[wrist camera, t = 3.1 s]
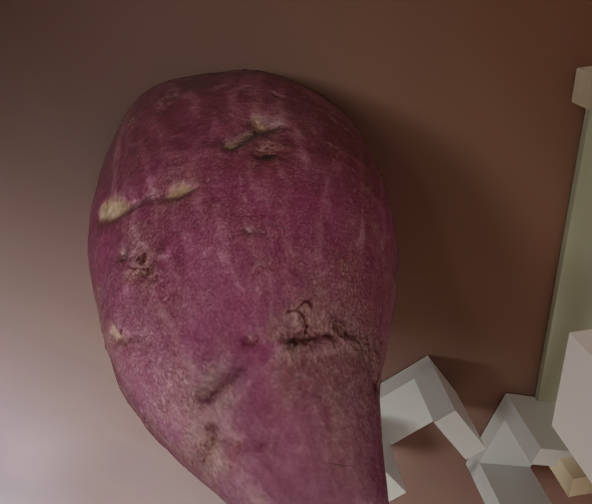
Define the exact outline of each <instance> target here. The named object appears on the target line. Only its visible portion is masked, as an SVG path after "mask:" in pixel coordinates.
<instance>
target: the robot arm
mask: <svg viewBox="0 0 592 504" xmlns="http://www.w3.org/2000/svg"><path fill="white" fill-rule="evenodd" d="M552 427H553V428H554V429H555V431H556V432H557V434H558V435H559V437H560V438H561V440H562V441H563V442H564V444H565V445H566V447H567V448H568V450H569V451H570V453H571V454H572V456H573V457H574V458H575V460H576V461H577V463H578V464H579V466H580V467H581V469H582V470H583V472H584V473H585V474H586V476H587V477H588V479H589V480H590V482H591V483H592V329H589V330H582V331H576V332H569V337H568V343H567V348H566V353H565V358H564V363H563V369H562V374H561V379H560V384H559V390H558V395H557V400H556V405H555V411H554V416H553V421H552Z"/></svg>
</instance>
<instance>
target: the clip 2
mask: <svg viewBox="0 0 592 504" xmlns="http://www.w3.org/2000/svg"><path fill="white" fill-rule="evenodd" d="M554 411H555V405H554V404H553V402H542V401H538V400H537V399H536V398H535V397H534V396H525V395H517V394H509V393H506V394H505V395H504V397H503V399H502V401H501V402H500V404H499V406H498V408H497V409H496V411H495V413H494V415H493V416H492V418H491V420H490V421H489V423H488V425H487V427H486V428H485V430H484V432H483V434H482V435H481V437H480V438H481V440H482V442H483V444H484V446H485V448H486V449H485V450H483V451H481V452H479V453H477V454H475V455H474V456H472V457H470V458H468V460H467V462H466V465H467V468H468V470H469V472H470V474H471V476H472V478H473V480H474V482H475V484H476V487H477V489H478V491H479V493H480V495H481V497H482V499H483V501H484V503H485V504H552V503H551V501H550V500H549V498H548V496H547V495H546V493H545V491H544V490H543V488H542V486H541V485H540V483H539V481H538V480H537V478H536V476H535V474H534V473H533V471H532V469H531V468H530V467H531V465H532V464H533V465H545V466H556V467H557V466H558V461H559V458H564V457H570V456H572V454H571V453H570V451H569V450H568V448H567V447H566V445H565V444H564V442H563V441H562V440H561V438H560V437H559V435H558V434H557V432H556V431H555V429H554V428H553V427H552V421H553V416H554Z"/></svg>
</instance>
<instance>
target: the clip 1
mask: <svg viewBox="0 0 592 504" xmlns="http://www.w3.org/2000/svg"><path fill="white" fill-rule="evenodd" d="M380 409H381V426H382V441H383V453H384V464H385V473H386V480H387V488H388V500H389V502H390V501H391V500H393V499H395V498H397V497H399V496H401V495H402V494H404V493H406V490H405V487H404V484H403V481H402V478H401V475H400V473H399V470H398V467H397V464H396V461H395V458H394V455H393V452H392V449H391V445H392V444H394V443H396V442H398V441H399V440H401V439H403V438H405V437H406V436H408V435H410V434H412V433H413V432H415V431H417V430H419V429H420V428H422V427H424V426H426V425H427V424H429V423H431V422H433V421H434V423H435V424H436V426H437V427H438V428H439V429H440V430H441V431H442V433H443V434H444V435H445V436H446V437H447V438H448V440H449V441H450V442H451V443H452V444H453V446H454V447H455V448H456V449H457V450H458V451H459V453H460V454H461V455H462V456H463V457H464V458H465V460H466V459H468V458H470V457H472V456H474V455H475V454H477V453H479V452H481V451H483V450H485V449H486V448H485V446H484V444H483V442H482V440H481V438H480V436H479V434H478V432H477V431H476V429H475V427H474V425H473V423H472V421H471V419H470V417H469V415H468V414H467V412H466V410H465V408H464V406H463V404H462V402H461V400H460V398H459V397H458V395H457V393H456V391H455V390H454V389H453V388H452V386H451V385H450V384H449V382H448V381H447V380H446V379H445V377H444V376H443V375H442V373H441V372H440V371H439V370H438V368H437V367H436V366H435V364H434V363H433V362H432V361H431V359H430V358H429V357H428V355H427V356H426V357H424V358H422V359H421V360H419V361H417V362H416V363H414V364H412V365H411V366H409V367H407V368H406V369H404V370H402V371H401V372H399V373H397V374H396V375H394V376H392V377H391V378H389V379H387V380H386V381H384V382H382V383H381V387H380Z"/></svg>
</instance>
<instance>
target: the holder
mask: <svg viewBox="0 0 592 504" xmlns="http://www.w3.org/2000/svg"><path fill="white" fill-rule="evenodd" d="M571 102H572V103H575V104H577V105H579V106H581V107H583V108H586V110H585V115H584V121H583V127H582V132H581V138H580V144H579V149H578V155H577V161H576V166H575V172H574V178H573V183H572V189H571V195H570V200H569V206H568V212H567V217H566V223H565V229H564V234H563V240H562V246H561V251H560V257H559V263H558V268H557V274H556V280H555V285H554V291H553V297H552V302H551V308H550V314H549V319H548V325H547V331H546V336H545V342H544V348H543V353H542V359H541V365H540V370H539V376H538V382H537V387H536V393H535V398H536V399H537V400H538V401H542V402H553V404H554V405H556V400H557V395H558V390H559V384H560V379H561V374H562V369H563V363H564V358H565V353H566V348H567V343H568V337H569V332H576V331H582V330H589V329H592V66H588V67H580V68H577V70H576V77H575V83H574V89H573V95H572V101H571ZM549 467H550V469H551V470H552V472H553V474H554V475H555V477H556V478H557V480H558V481H559V483H560V485H561V486H562V488H563V489H564V491H565V493H566V494H567V496H568V497H573V496H578V495H584V494H590V493H592V483H591V482H590V480H589V479H588V477H587V476H586V474H585V473H584V472H583V470H582V469H581V467H580V466H579V464H578V463H577V461H576V460H575V458H574V457H573V456H570V457H564V458H559V461H558V466H557V467H556V466H549Z"/></svg>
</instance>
